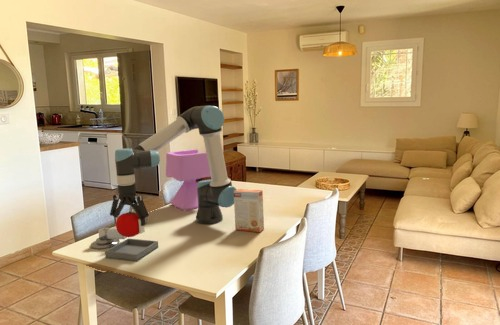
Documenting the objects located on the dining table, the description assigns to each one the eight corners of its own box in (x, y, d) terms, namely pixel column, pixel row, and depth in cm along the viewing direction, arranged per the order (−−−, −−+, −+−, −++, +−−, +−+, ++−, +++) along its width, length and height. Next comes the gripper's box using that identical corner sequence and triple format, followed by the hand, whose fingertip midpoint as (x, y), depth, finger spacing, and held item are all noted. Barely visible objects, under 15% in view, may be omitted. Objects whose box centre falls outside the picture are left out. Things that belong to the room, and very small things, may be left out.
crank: (97, 239, 180) (95, 222, 179) (102, 236, 185) (101, 219, 183) (125, 240, 177) (123, 223, 176) (130, 237, 182) (129, 220, 181)
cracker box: (264, 229, 195) (263, 189, 191) (259, 233, 189) (258, 192, 186) (240, 226, 201) (238, 188, 197) (235, 230, 195) (233, 190, 192)
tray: (158, 247, 175) (157, 241, 175) (137, 261, 160) (136, 254, 159) (128, 244, 180) (128, 238, 180) (105, 257, 165) (104, 251, 165)
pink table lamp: (215, 205, 246) (212, 152, 240) (182, 211, 233) (178, 155, 227) (199, 198, 265) (196, 149, 259) (168, 204, 252) (164, 152, 247)
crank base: (125, 240, 186) (124, 235, 186) (107, 250, 174) (106, 244, 174) (103, 238, 190) (103, 233, 190) (84, 247, 178) (84, 242, 178)
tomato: (118, 241, 161) (115, 216, 160) (116, 233, 172) (113, 210, 170) (146, 237, 166) (144, 212, 164) (142, 229, 176) (141, 206, 175)
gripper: (154, 183, 165) (158, 230, 168) (109, 181, 173) (114, 227, 176) (144, 186, 158) (148, 236, 161) (98, 184, 166) (103, 232, 169)
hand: (130, 231), depth 169 cm, fingers closed on tomato, 11 cm apart
